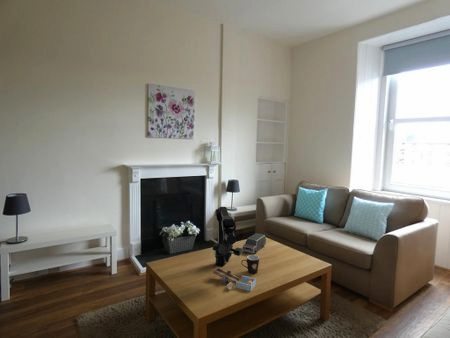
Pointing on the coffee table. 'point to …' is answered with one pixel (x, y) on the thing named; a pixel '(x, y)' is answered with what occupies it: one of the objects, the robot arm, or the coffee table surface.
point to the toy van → (254, 243)
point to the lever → (227, 277)
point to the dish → (244, 281)
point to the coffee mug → (252, 263)
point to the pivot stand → (225, 278)
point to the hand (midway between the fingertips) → (227, 262)
